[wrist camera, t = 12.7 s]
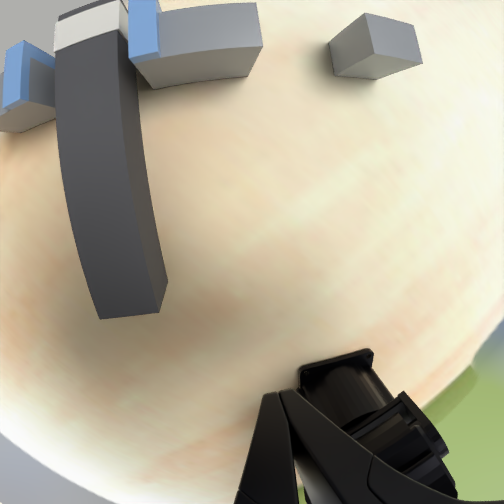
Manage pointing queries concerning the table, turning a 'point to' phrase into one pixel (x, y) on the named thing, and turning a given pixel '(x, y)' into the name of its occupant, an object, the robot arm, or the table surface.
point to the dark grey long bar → (106, 161)
